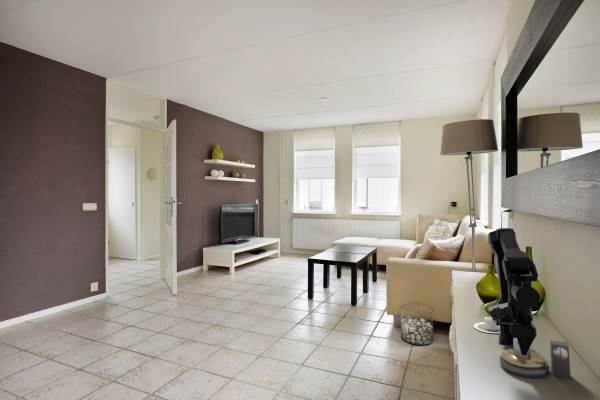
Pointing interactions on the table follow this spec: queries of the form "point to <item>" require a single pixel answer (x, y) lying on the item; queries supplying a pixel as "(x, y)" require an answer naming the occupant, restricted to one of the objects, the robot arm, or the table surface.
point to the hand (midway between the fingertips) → (522, 348)
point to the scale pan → (533, 363)
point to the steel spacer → (518, 353)
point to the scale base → (558, 364)
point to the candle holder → (487, 325)
